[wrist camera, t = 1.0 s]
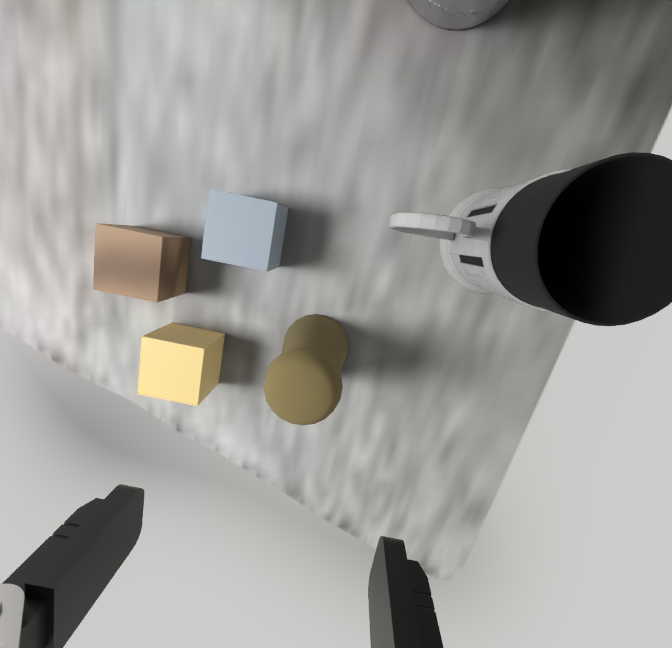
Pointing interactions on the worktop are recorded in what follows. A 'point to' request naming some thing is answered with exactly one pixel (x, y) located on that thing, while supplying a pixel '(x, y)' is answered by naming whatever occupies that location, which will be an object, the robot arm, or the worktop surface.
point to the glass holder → (566, 240)
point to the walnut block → (140, 262)
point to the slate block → (243, 230)
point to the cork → (308, 371)
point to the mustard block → (180, 363)
